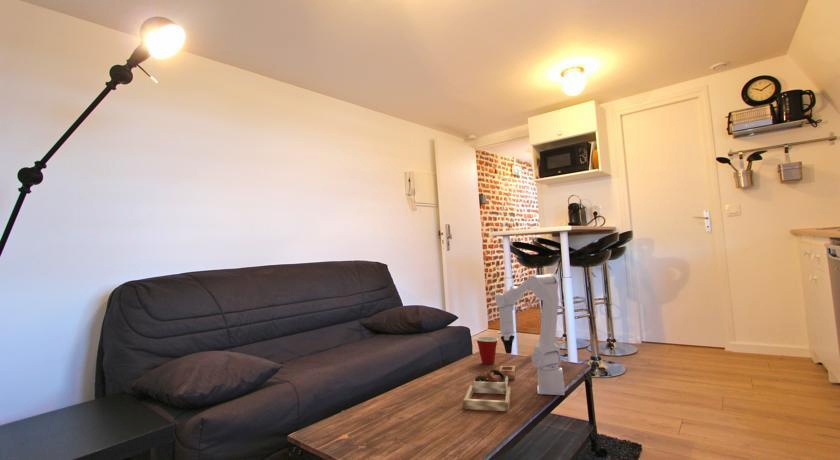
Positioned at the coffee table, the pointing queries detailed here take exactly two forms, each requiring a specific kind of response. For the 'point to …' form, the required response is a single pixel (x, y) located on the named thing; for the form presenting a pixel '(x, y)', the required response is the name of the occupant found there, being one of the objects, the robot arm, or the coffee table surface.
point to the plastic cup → (487, 349)
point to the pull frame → (496, 386)
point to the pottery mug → (490, 378)
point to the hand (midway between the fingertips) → (508, 353)
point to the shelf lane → (486, 402)
